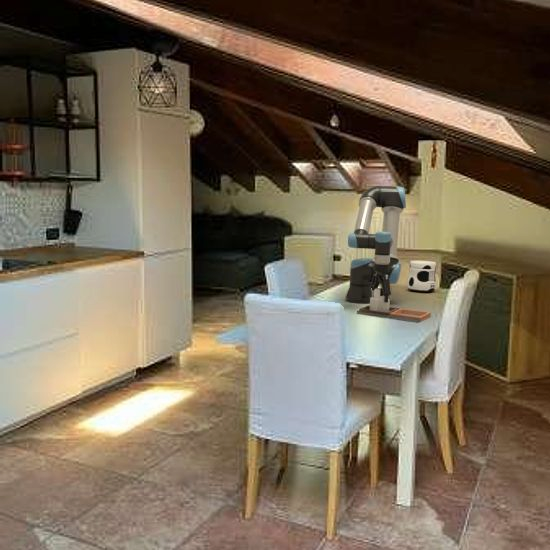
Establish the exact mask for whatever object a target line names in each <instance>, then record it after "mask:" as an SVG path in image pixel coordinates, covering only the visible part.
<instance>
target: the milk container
mask: <svg viewBox="0 0 550 550" xmlns="http://www.w3.org/2000/svg"><path fill="white" fill-rule="evenodd" d="M408 268H409V269H408V271H409V273H408V278H407V281H406V287H407V289H408V290H410V291H412V292H418V293H431V292H434V291H435V290H436V288H437V280H436V272H437V270H436V268H437V262H435V261H433V260H432V261H431V260H430V261H429V260H417V259H416V260H410V261H409V267H408Z"/></svg>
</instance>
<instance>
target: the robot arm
mask: <svg viewBox="0 0 550 550" xmlns="http://www.w3.org/2000/svg"><path fill="white" fill-rule="evenodd" d="M406 201H407V200H406V190H405V188H404V187H403V186H397V185H396V186H393V185H391V186H390V185H389V186H388V185H376V186H374V185H373V186H371V187H369V188H367V189H366V190H365V191H364V192H363V193H362V195H360V197H359V200H358V207H359V209H358V212H357V217H356V220H355V221H356V222H355V226H354V230H353V232H350V233H349V234H348V236H347V238H348V239H347V246H348V247H349V248H352V249H365V250H368V249H369V250H374V256H373V258H371V257H363V258H362V257H361V258H355V259H352V260H351V261H350V267H349V270H350V273H349V287H348V290H347V292H346V294H345V301H347V302H350V303H355V304H370V298H371V297H374V289H376V288H380V287H379V286H380V285H381V288H382V290H383V295H382V296H383V301H382V309H388V299H390V298H389V296H391V295H392V290H391V285H395V284H398V282H399V279H400V276H401V271H402V263H401V262H400V259H399V258H398V255H397V254H398V253H397V251H398V242H399V231H400V230H399V229H400V227H399V226H400V215H401V214H402V213H403V212H404V210H405V209H406V208H407V202H406ZM376 208H381V209H380V210H381V211H382V212H383V219H382V220H383V221H382V231H377V232H375V233H370V228H371V224H372V219H373V214H374V211H375V210H376Z"/></svg>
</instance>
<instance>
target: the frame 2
mask: <svg viewBox="0 0 550 550" xmlns="http://www.w3.org/2000/svg"><path fill="white" fill-rule="evenodd" d="M431 314H432V312H430V311H429V312H428V311H422V310H421V311H420V310H413V309H408V308H407V309H406V308H399V310H397V311H394V312H392V313H390V315H393V316H400V317H407V318H413V319H420V322H419V323H421V322H422V321H424V320H427V319H429V318H430V317H431V316H432V315H431Z"/></svg>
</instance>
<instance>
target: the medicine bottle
mask: <svg viewBox="0 0 550 550" xmlns="http://www.w3.org/2000/svg"><path fill="white" fill-rule="evenodd" d="M382 295H383V290H382V287H378V288H376V289H374V297H371V298H370V303H369V305H370V310H374V311H381V312H389V307H390V304H391V303H390V302H391V300H390V298H388V309H382V301H383V296H382Z"/></svg>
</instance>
